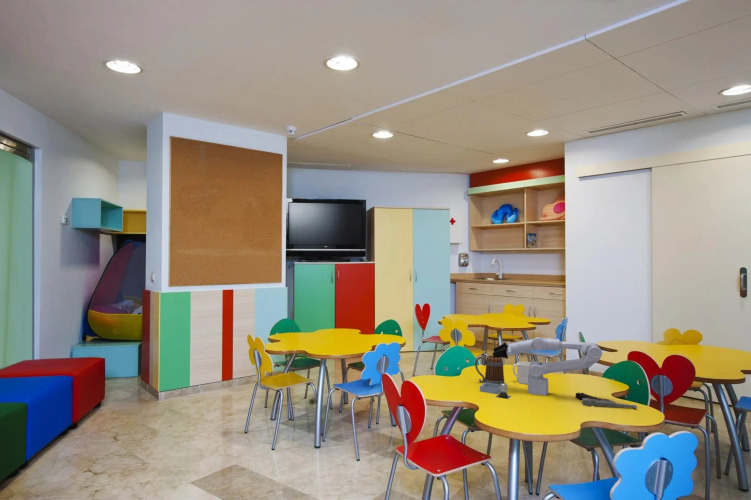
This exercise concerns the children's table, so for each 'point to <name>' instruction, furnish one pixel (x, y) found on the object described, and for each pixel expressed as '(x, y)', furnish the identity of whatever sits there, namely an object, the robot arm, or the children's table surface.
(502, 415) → the children's table surface
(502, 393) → the strut
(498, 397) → the grey metal square plate
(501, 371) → the mug
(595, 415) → the children's table surface
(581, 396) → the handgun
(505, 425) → the children's table surface
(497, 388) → the bin
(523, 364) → the mug
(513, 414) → the children's table surface
